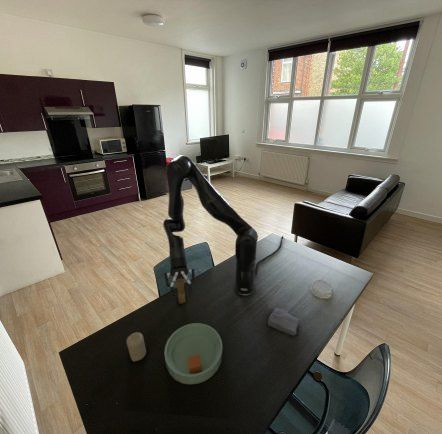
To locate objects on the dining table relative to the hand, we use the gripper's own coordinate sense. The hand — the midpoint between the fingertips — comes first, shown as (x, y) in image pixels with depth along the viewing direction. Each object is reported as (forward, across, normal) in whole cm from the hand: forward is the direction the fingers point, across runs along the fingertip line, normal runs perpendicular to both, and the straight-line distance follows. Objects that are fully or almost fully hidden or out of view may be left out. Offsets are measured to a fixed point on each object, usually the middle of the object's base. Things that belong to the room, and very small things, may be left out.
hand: (181, 294), depth 108 cm
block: (+26, +2, -19) cm, 32 cm away
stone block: (+19, +41, -11) cm, 46 cm away
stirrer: (+3, 0, +5) cm, 6 cm away
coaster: (+10, +67, -2) cm, 68 cm away
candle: (+19, -18, -11) cm, 28 cm away
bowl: (+23, +2, -15) cm, 27 cm away
